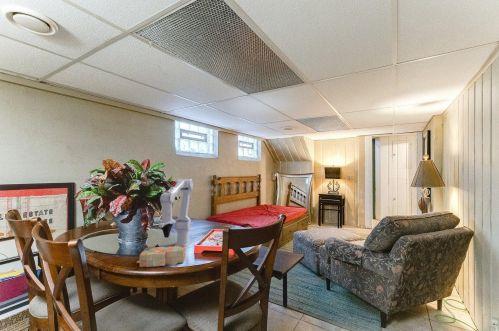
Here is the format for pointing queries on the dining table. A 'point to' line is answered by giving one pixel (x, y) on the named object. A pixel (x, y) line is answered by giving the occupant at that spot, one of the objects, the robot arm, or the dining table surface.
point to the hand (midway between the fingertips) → (166, 237)
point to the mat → (166, 263)
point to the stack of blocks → (162, 255)
